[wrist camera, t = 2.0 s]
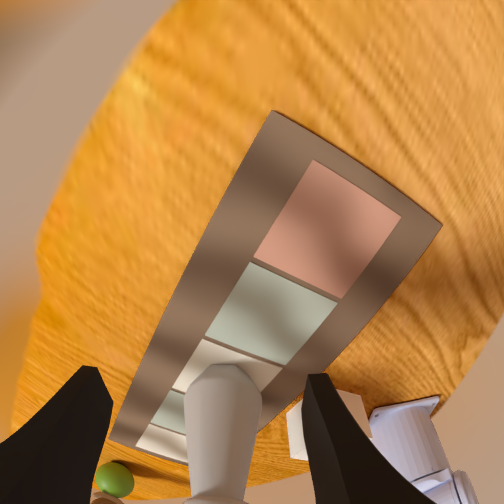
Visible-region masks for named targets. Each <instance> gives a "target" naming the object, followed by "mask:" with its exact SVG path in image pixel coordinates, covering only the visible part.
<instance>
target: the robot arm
mask: <svg viewBox="0 0 504 504" xmlns="http://www.w3.org/2000/svg"><path fill="white" fill-rule="evenodd" d="M439 400H440V398H439V396H434V397H430V398H426V399H421V400H416V401H412V402H407V403H401V404H396V405H390V406H385V407H379V408H376V409H374V410H373V412H372V414H371V416H370V418H369V420H368V422H369V425H370V429H371V432H372V436H373V439H372V440H370V439H369V438H368V437H367V435H366V434H365V433H364V431H363V430H362V429H361V427H360V426H359V424H358V423H357V422H356V420H355V419H354V417H353V416H352V414H351V413H350V411H349V410H348V408H347V407H346V405H345V403H344V402H343V400H342V399H341V397H340V395H339V394H338V392H337V390H336V388H335V387H334V385H333V383H332V381H331V379H330V377H329V375H328V374H326V373H319V374H308V375H307V380H306V386H305V391H304V397H303V402H302V407H301V415H302V427H303V437H304V442H305V447H306V451H307V456H308V461H309V466H310V471H311V475H312V480H313V485H314V491H315V497H316V504H479V503H478V500H477V497H476V494H475V492H474V489H473V486H472V484H471V482H470V479H469V478H468V475H467V474H466V472H464V471H460V470H457V471H455V472H453V471H452V470H451V468H450V466H449V463H448V460H447V458H446V455H445V453H444V450H443V447H442V445H441V442H440V440H439V438H438V435H437V433H436V430H435V428H434V425H433V423H432V421H431V418H430V414H431V413H432V411H433V410H434V408H435V406H436V405H437V403H438V402H439ZM112 408H113V400H112V398H111V396H110V394H109V392H108V390H107V388H106V386H105V384H104V382H103V379H102V377H101V375H100V373H99V371H98V368H97V367H92V366H84V365H83V366H81V367H80V368H79V369H78V371H77V372H76V373H75V374H74V375H73V376H72V377H71V378H70V379H69V380H68V381H67V382H66V383H65V384H64V385H63V386H62V387H61V389H60V390H59V391H58V392H57V393H56V394H55V395H54V396H53V397H52V398H51V399H50V400H49V401H48V402H47V403H46V404H45V405H44V406H43V407H42V408H41V409H40V410H39V411H38V412H37V413H36V414H35V415H34V416H33V417H32V418H31V419H30V420H29V421H28V422H27V423H26V424H24V425H23V426H22V427H21V428H20V429H19V430H18V431H16V432H15V433H14V434H13V435H11V436H10V437H9V438H7V439H6V440H5V441H3V442H2V443H0V504H90V497H91V489H92V483H93V479H94V474H95V471H96V467H97V464H98V461H99V457H100V454H101V451H102V448H103V445H104V441H105V438H106V435H107V432H108V428H109V424H110V419H111V414H112Z"/></svg>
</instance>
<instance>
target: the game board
mask: <svg viewBox="0 0 504 504" xmlns="http://www.w3.org/2000/svg"><path fill="white" fill-rule="evenodd" d="M441 227H442V225H441V224H440V223H439V222H438V221H436V220H435V219H434V218H433V217H432V216H430V215H429V214H428V213H427V212H425V211H424V210H423V209H421V208H420V207H419V206H418V205H416V204H415V203H414V202H412V201H411V200H410V199H409V198H407V197H406V196H405V195H403V194H402V193H401V192H399V191H398V190H397V189H395V188H394V187H393V186H391V185H390V184H388V183H387V182H386V181H384V180H383V179H381V178H380V177H379V176H377V175H376V174H374V173H373V172H371V171H370V170H369V169H367V168H366V167H364V166H363V165H361V164H360V163H358V162H357V161H355V160H354V159H352V158H351V157H349V156H348V155H346V154H345V153H343V152H342V151H340V150H339V149H337V148H335V147H334V146H332V145H331V144H329V143H327V142H326V141H324V140H323V139H321V138H319V137H318V136H316V135H314V134H313V133H311V132H309V131H308V130H306V129H304V128H303V127H301V126H299V125H298V124H296V123H294V122H292V121H291V120H289V119H287V118H285V117H284V116H282V115H280V114H278V113H276V112H275V111H273V110H271V112H270V114H269V115H268V117H267V119H266V121H265V122H264V124H263V126H262V127H261V129H260V131H259V133H258V134H257V136H256V138H255V140H254V141H253V143H252V145H251V147H250V148H249V150H248V152H247V154H246V156H245V157H244V159H243V161H242V163H241V164H240V166H239V168H238V170H237V172H236V174H235V175H234V177H233V179H232V181H231V183H230V184H229V186H228V188H227V190H226V192H225V194H224V196H223V197H222V199H221V201H220V203H219V205H218V207H217V209H216V211H215V212H214V214H213V216H212V218H211V220H210V222H209V224H208V226H207V228H206V230H205V231H204V233H203V235H202V237H201V239H200V241H199V243H198V245H197V247H196V249H195V251H194V253H193V255H192V257H191V259H190V261H189V263H188V265H187V267H186V269H185V271H184V273H183V275H182V277H181V279H180V281H179V283H178V285H177V287H176V289H175V291H174V293H173V295H172V297H171V299H170V301H169V303H168V305H167V308H166V310H165V312H164V314H163V316H162V318H161V320H160V322H159V324H158V326H157V329H156V331H155V333H154V335H153V337H152V339H151V342H150V344H149V346H148V348H147V350H146V352H145V355H144V357H143V359H142V361H141V363H140V366H139V368H138V370H137V372H136V375H135V377H134V379H133V381H132V384H131V386H130V388H129V391H128V393H127V395H126V398H125V400H124V402H123V405H122V407H121V409H120V412H119V414H118V416H117V419H116V421H115V424H114V426H113V428H112V431H111V433H110V436H109V440H112V441H114V442H117V443H119V444H122V445H125V446H127V447H130V448H133V449H136V450H138V451H141V452H144V453H147V454H150V455H153V456H156V457H159V458H162V459H166V460H169V461H172V462H176V463H179V464H183V465H186V466H189V465H188V454H187V442H186V430H185V415H184V396H185V393H186V391H187V389H188V388H189V386H190V384H191V383H192V382H193V381H194V380H195V379H196V378H197V377H198V376H199V375H200V374H201V373H202V372H203V371H204V370H205V369H206V368H207V367H208V366H209V365H210V364H235V365H236V366H237V367H239V368H240V369H241V370H243V371H244V372H245V373H247V374H248V375H250V376H251V378H252V380H253V381H254V383H255V385H256V386H257V388H258V389H259V391H260V393H261V396H262V411H261V416H260V420H259V425H258V430H257V432H259V431H260V430H261V429H262V428H263V427H264V426H265V425H267V424H268V423H269V422H270V421H271V420H272V419H273V418H274V417H276V416H277V415H278V414H279V413H280V412H281V411H282V410H283V409H284V408H285V407H287V406H288V405H289V404H290V403H291V402H292V401H293V400H294V399H295V398H296V397H297V396H298V395H299V394H300V393H301V392H302V391H303V390H304V389H305V386H306V380H307V375H308V374H319V373H322V372H323V371H324V369H325V368H326V367H327V366H328V365H329V364H330V363H331V362H332V361H333V360H334V359H335V358H336V357H337V356H338V355H339V354H340V353H341V352H342V351H343V350H344V348H345V347H346V346H347V345H348V344H349V343H350V342H351V341H352V340H353V339H354V337H355V336H356V335H357V334H358V333H359V332H360V331H361V330H362V328H363V327H364V326H365V325H366V324H367V323H368V322H369V320H370V319H371V318H372V317H373V316H374V315H375V313H376V312H377V311H378V310H379V309H380V307H381V306H382V305H383V304H384V303H385V301H386V300H387V299H388V298H389V297H390V295H391V294H392V293H393V292H394V290H395V289H396V288H397V287H398V285H399V284H400V283H401V281H402V280H403V279H404V278H405V276H406V275H407V274H408V272H409V271H410V270H411V268H412V267H413V266H414V265H415V263H416V262H417V260H418V259H419V258H420V256H421V255H422V254H423V252H424V251H425V250H426V248H427V247H428V245H429V244H430V243H431V241H432V240H433V238H434V237H435V235H436V234H437V233H438V231H439V230H440V228H441Z"/></svg>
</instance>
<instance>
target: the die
mask: <svg viewBox="0 0 504 504" xmlns="http://www.w3.org/2000/svg"><path fill="white" fill-rule="evenodd" d="M336 390H337V392H338V394H339V395H340V397H341V399H342V400H343V402H344V403H345V405H346V407H347V408H348V410H349V411H350V413H351V414H352V416H353V417H354V419H355V420H356V422H357V423H358V424H359V426H360V427H361V429H362V430H363V431H364V433H365V434H366V435H367V437H368V438H369V439H370V440H372V439H373V436H372V432H371V429H370V425H369V422H368V419H367V415H366V412H365V409H364V405H363V402H362V399H361V395H357V394H353V393H350V392H346V391H342V390H339V389H336ZM302 402H303V399H302V400H301V401H300V402H298V403H297V404H296V405H295V406H294V407H293V408H292V409H291V410H290V411H289V412H288V413H286V416H287V426H288V436H289V446H290V457H291V458H294V459H300V460H307V461H308V456H307V451H306V447H305V442H304V437H303V427H302V415H301V407H302Z"/></svg>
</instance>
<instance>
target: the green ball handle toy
mask: <svg viewBox="0 0 504 504" xmlns="http://www.w3.org/2000/svg"><path fill="white" fill-rule="evenodd" d="M96 483H97V485H98V487H99V488H100V490H101V491H102V492H97V493H94V494H93V496H94V497H97V498H98V499H95V500H94V501H92V503H91V504H124V503H122V502H121V501H120V500H119V499H118V498H122V497H125V496H127V495H129V494H130V493H131V492H132V490H133V488H134V478H133V475H132V473H131V472H130V471H129V470H128V469H127V468H126V467H125V466H123V465H121V464H119V463H114V462H109V463H105V464H103V465H102V466H100V467H99V468H98V470H97V472H96Z"/></svg>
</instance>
